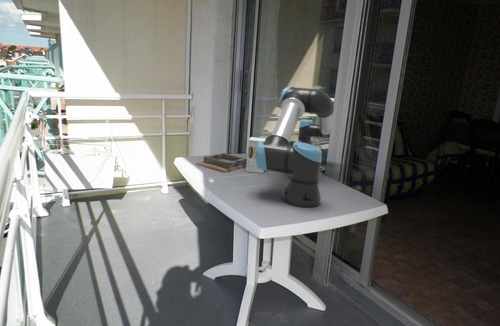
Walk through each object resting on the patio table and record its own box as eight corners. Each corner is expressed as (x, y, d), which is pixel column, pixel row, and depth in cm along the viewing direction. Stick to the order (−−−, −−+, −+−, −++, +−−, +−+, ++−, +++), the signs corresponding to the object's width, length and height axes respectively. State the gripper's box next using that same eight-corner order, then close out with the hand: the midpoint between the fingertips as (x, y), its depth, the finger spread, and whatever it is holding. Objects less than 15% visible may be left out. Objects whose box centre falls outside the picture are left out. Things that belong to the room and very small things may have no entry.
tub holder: (224, 172, 173) (224, 165, 172) (196, 164, 184) (196, 157, 183) (252, 165, 192) (253, 158, 191) (225, 158, 203) (225, 151, 202)
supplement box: (245, 171, 178) (247, 139, 174) (247, 167, 187) (250, 136, 183) (263, 173, 177) (266, 141, 173) (265, 169, 186) (268, 138, 182)
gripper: (310, 158, 194) (286, 162, 180) (276, 149, 211) (252, 152, 196) (312, 145, 193) (288, 148, 178) (277, 137, 209) (253, 139, 194)
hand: (269, 150), depth 187 cm, fingers open, 13 cm apart
